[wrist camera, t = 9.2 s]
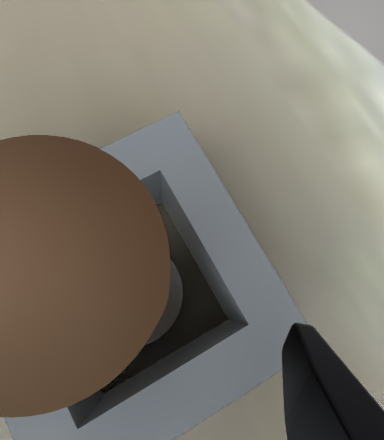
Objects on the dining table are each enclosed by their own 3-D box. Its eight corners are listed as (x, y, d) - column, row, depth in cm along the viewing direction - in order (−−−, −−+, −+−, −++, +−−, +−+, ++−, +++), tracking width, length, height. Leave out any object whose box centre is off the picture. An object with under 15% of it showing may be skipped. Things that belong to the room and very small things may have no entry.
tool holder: (83, 457, 15) (48, 521, 11) (-12, 250, 17) (-76, 231, 12) (280, 334, 17) (320, 344, 12) (176, 156, 18) (178, 111, 14)
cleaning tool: (129, 365, 16) (-13, 593, 3) (66, 292, 17) (-261, 254, 4) (200, 295, 17) (296, 272, 4) (138, 228, 17) (59, 31, 5)
